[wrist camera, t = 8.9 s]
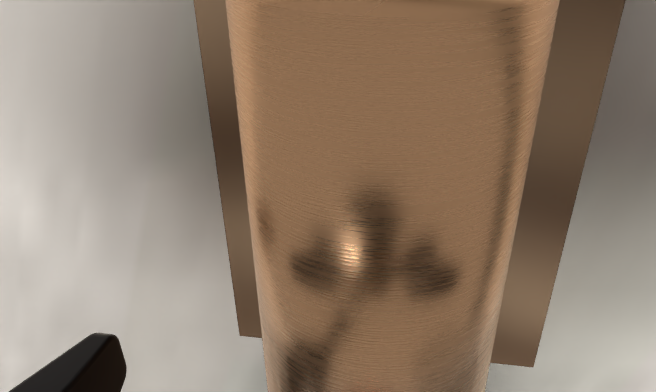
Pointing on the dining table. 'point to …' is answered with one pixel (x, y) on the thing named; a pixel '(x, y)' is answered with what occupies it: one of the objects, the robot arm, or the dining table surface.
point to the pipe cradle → (539, 188)
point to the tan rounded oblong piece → (384, 181)
